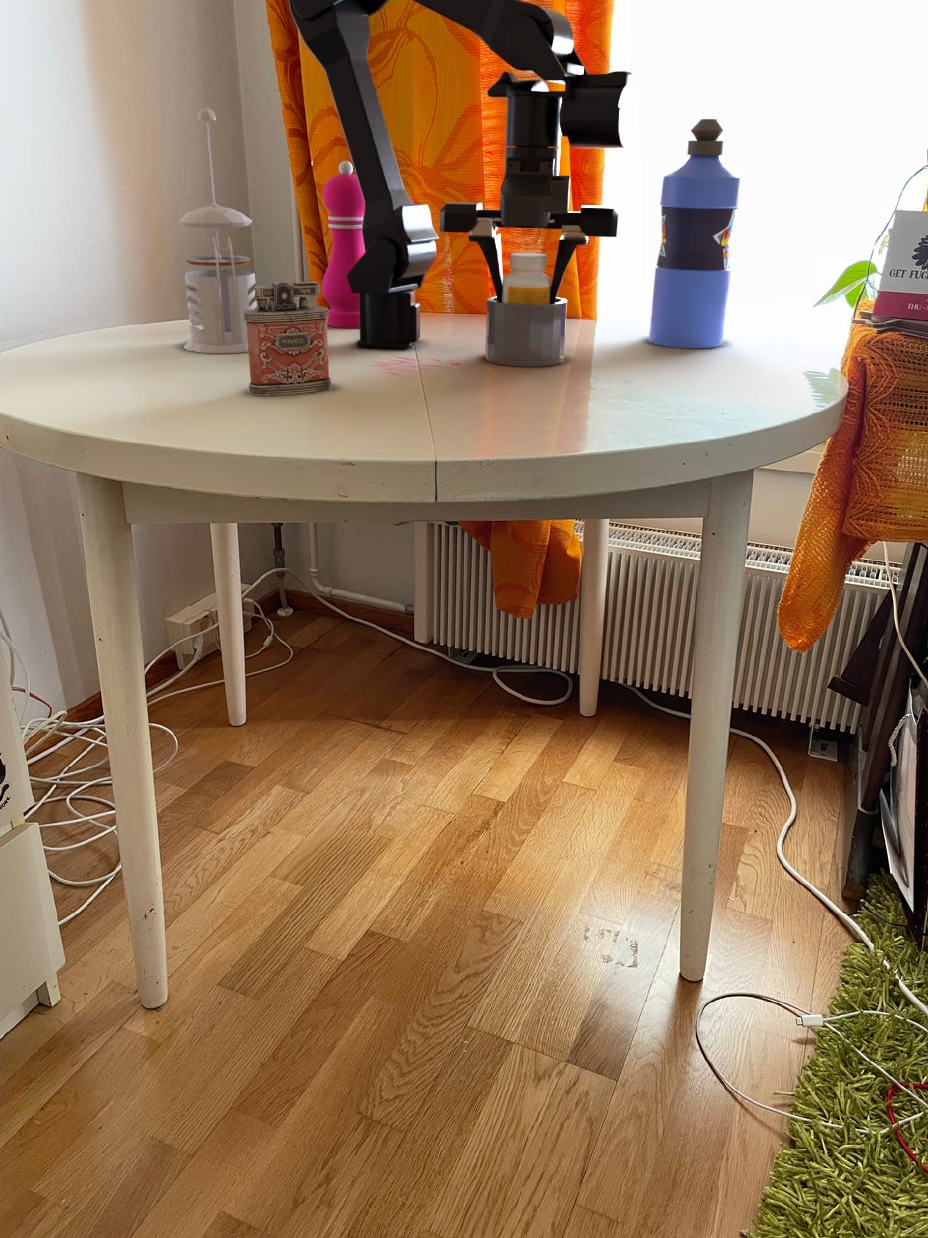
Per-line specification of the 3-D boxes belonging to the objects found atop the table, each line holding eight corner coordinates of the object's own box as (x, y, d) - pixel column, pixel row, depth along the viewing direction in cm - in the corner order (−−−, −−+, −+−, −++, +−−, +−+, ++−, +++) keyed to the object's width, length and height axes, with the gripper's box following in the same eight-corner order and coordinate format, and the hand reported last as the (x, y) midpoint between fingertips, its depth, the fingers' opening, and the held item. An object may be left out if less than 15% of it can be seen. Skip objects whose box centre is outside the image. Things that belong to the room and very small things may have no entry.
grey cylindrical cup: (481, 364, 109) (482, 303, 106) (490, 350, 116) (491, 293, 114) (561, 367, 108) (565, 305, 105) (565, 353, 115) (568, 295, 113)
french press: (262, 337, 122) (246, 110, 112) (276, 353, 112) (260, 106, 102) (180, 340, 120) (156, 108, 109) (187, 357, 110) (161, 103, 99)
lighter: (255, 397, 92) (247, 285, 88) (245, 389, 95) (236, 280, 91) (336, 389, 96) (332, 281, 92) (324, 382, 99) (319, 277, 94)
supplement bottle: (492, 342, 112) (494, 252, 108) (533, 339, 115) (537, 251, 111) (514, 350, 108) (518, 257, 104) (557, 347, 110) (562, 256, 106)
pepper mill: (368, 329, 129) (364, 160, 120) (316, 327, 130) (308, 159, 122) (384, 321, 135) (381, 161, 127) (333, 319, 137) (327, 160, 128)
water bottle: (640, 344, 122) (660, 117, 111) (656, 333, 130) (676, 120, 119) (716, 350, 119) (744, 117, 108) (728, 339, 127) (755, 120, 116)
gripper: (431, 144, 97) (431, 310, 103) (624, 148, 95) (610, 317, 101) (448, 145, 107) (446, 296, 113) (622, 149, 105) (610, 302, 111)
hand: (525, 303), depth 109 cm, fingers closed on supplement bottle, 5 cm apart
